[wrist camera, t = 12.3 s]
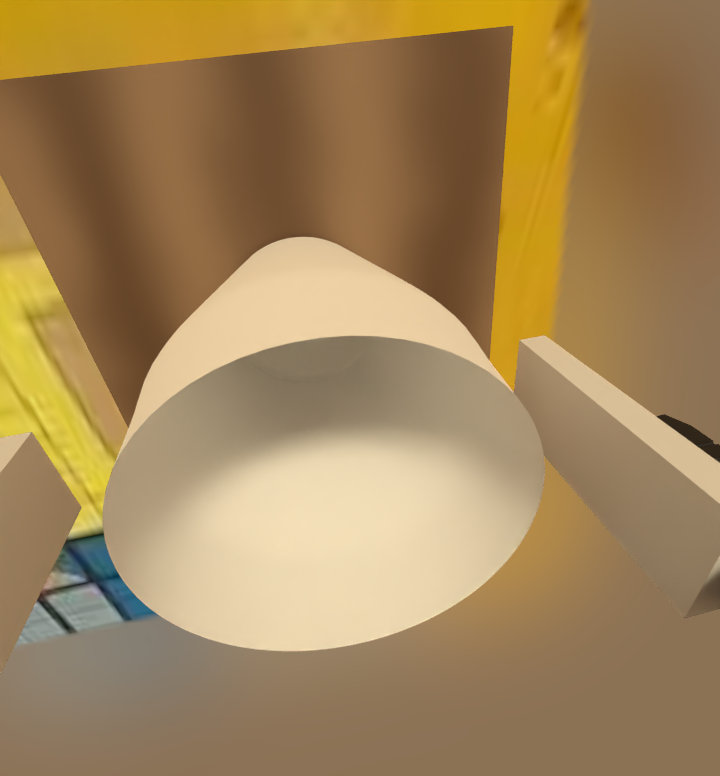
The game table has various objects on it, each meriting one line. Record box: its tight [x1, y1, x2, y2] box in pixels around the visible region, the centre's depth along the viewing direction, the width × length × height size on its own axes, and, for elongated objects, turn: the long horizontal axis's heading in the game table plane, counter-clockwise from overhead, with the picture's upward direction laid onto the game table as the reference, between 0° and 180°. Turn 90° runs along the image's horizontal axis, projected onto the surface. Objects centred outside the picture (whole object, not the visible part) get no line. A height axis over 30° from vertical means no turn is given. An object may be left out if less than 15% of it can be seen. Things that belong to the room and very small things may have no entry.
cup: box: [103, 237, 545, 651], centre depth 14 cm, size 9×9×12 cm
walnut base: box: [0, 26, 513, 428], centre depth 20 cm, size 18×18×4 cm
